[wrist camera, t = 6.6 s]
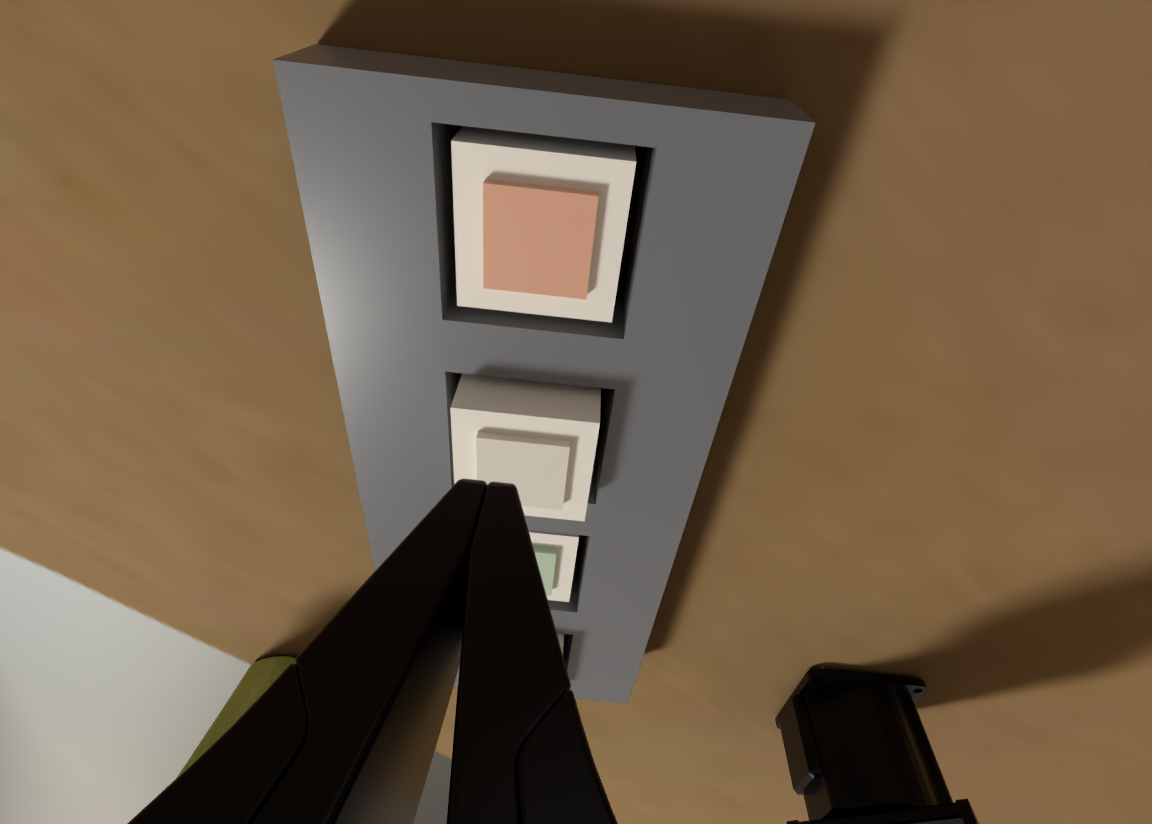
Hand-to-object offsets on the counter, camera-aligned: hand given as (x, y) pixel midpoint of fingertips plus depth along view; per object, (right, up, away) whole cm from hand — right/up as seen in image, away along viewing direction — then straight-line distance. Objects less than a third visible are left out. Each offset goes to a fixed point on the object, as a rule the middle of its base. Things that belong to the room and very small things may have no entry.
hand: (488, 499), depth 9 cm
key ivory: (0, +1, +11) cm, 11 cm away
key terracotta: (0, +7, +8) cm, 11 cm away
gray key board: (-1, -1, +15) cm, 15 cm away
